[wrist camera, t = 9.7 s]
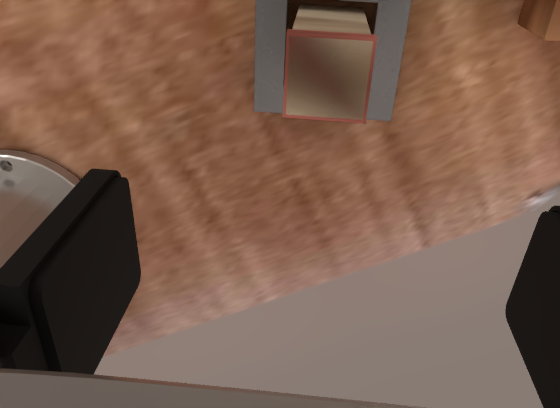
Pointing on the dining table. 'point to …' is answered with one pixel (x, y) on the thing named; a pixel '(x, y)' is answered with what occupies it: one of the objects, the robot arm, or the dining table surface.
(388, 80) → the socket block
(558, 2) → the light brown cube
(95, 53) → the dining table surface
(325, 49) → the pin
